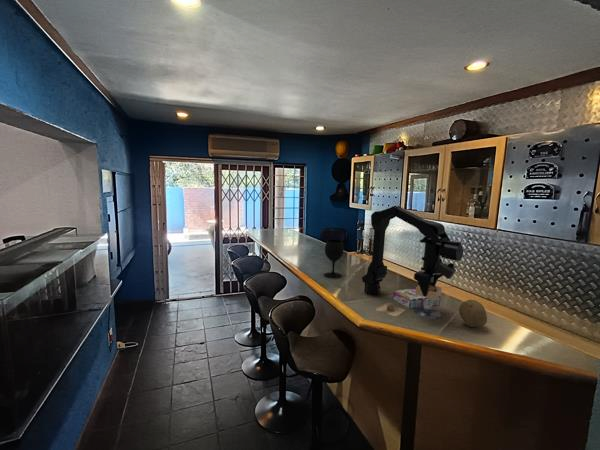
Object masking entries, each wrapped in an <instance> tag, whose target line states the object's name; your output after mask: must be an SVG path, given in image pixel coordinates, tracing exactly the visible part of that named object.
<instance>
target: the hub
mask: <svg viewBox="0 0 600 450" xmlns="http://www.w3.org/2000/svg"><path fill="white" fill-rule="evenodd" d="M413 313H414V314H415V315H416V316H417V317H418V316H419V317H421V318H423V319H428V320H436V319H437V320H438V319H440V318H441V317H442V314H441V312H440V311H438V310H437V309H434V308H433V305H432V302H431V300H430V299H425V301H424V302H423V307H416V308H413Z"/></svg>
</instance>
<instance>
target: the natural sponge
mask: <svg viewBox="0 0 600 450" xmlns="http://www.w3.org/2000/svg"><path fill="white" fill-rule="evenodd" d="M458 308H459V309H458V314H459V317H461V319H462V321H463V322H464V323H465V325H467V326H468V327H470V328H476V327H481V326H485V325H486V324H487V322H488V315H487V312H486V309H485V307H484V305H483V304H482V303H481V302H479V301H477V300H475V299H468V300H465V301H463V302H462V303H461V304H460V306H459V307H458Z"/></svg>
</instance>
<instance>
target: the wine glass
mask: <svg viewBox="0 0 600 450" xmlns="http://www.w3.org/2000/svg"><path fill="white" fill-rule="evenodd" d="M324 253H325V255H326V258H327V259H328V260H329V261H331V263H332V267H331V268H332V270H331V272H324V274H323V276H324V277H325V278H329V279H341V278H343V274H341V273H338V272H335V263H336V262H338V261H339V260H340V259H341V258H342V256H343V254H344V242H343V240H339V239H327V240H326V242H325V246H324Z"/></svg>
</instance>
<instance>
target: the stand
mask: <svg viewBox="0 0 600 450" xmlns="http://www.w3.org/2000/svg"><path fill="white" fill-rule="evenodd" d="M374 311H377V312H380V313H383V314H386V315H390V316H393V317H398V316H400V315H401V314H402V313H403V312H405V311H406V309H404V308H401V307H397V306H395V304H394V303H392V302H388V303H384V304H382V305H380V306H379V307H377V308H376V309H374Z"/></svg>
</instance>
